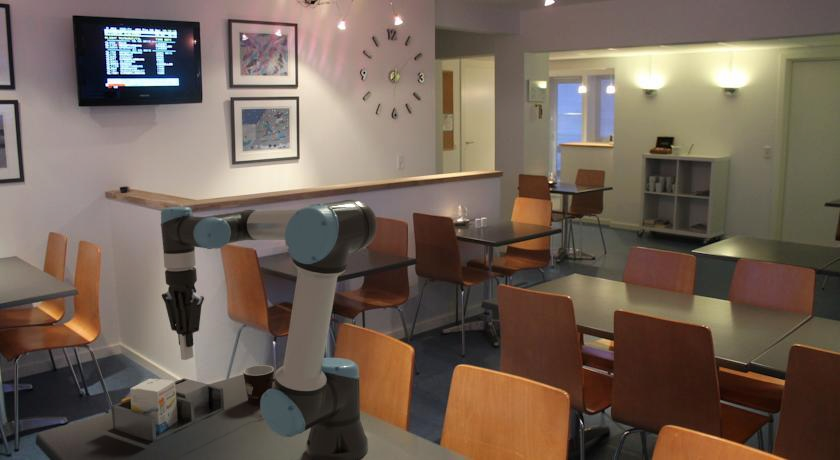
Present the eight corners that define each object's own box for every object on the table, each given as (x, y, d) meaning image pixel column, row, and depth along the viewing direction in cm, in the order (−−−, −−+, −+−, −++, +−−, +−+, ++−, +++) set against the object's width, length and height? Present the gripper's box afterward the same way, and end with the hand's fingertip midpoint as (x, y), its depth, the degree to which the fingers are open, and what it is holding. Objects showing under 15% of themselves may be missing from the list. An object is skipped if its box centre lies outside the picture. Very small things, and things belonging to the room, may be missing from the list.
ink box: (159, 434, 190) (156, 391, 189) (131, 431, 193) (128, 388, 191) (179, 421, 199) (176, 379, 197) (152, 418, 201) (149, 377, 199)
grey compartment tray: (224, 412, 206) (222, 386, 205) (153, 444, 186) (151, 416, 185) (184, 400, 215) (183, 376, 214) (112, 431, 195) (110, 403, 194)
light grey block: (209, 408, 207) (207, 384, 206) (186, 418, 200) (185, 394, 199) (189, 403, 211) (188, 379, 210) (167, 412, 204) (165, 388, 203)
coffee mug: (242, 400, 215) (240, 367, 213) (271, 395, 218) (269, 363, 217) (250, 415, 204) (248, 380, 203) (281, 409, 208) (279, 375, 206)
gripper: (210, 267, 185) (216, 357, 188) (174, 263, 192) (181, 350, 195) (187, 272, 179) (194, 366, 182) (150, 268, 185) (158, 358, 189)
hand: (187, 358), depth 189 cm, fingers closed
